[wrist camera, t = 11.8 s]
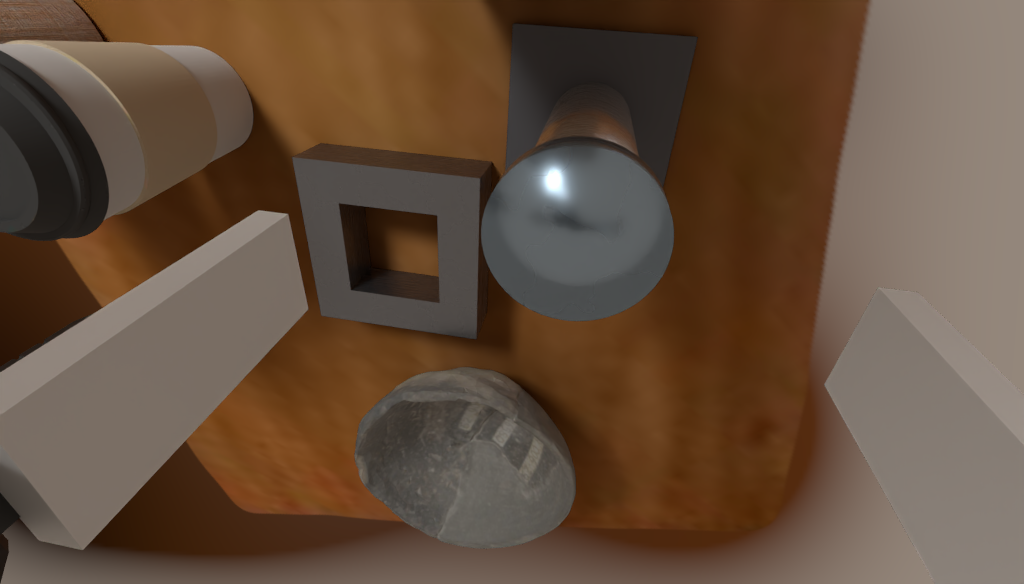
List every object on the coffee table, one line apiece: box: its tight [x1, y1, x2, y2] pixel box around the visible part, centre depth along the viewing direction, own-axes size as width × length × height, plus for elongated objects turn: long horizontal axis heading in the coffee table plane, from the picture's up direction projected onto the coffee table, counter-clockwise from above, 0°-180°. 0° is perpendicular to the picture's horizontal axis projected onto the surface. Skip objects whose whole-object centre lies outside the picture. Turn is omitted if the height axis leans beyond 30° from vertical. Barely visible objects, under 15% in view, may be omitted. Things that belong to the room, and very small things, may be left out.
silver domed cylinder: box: [481, 82, 674, 321], centre depth 22 cm, size 6×6×16 cm
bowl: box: [355, 367, 576, 549], centre depth 40 cm, size 18×18×8 cm
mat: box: [505, 23, 698, 187], centre depth 29 cm, size 10×10×1 cm
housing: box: [292, 143, 492, 339], centre depth 34 cm, size 12×12×4 cm
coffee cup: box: [0, 40, 253, 241], centre depth 26 cm, size 9×9×15 cm
